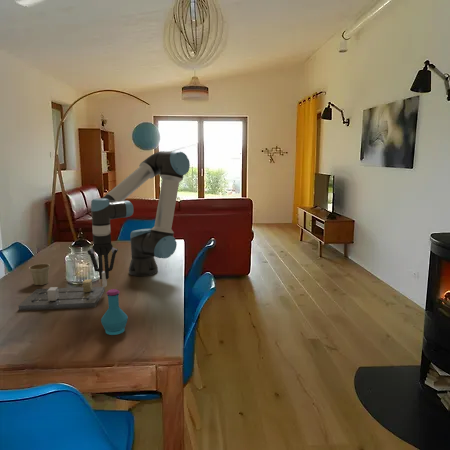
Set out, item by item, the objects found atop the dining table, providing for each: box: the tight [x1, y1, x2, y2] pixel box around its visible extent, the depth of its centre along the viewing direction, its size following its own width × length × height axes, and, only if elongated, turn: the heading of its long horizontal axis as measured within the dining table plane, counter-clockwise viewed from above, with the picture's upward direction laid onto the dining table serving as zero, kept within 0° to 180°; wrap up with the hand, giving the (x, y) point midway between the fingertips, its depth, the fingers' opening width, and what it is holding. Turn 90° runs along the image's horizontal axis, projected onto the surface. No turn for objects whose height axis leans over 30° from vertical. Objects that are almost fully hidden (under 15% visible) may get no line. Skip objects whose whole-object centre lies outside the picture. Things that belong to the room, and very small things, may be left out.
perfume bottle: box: [100, 288, 129, 336], centre depth 141 cm, size 9×9×15 cm
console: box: [18, 286, 105, 311], centre depth 172 cm, size 30×20×2 cm, turn 96°
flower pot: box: [28, 263, 51, 286], centre depth 193 cm, size 9×9×9 cm
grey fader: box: [47, 286, 59, 301], centre depth 166 cm, size 3×4×4 cm
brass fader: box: [82, 278, 93, 292], centre depth 176 cm, size 3×4×4 cm
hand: (104, 285), depth 177 cm, fingers closed
